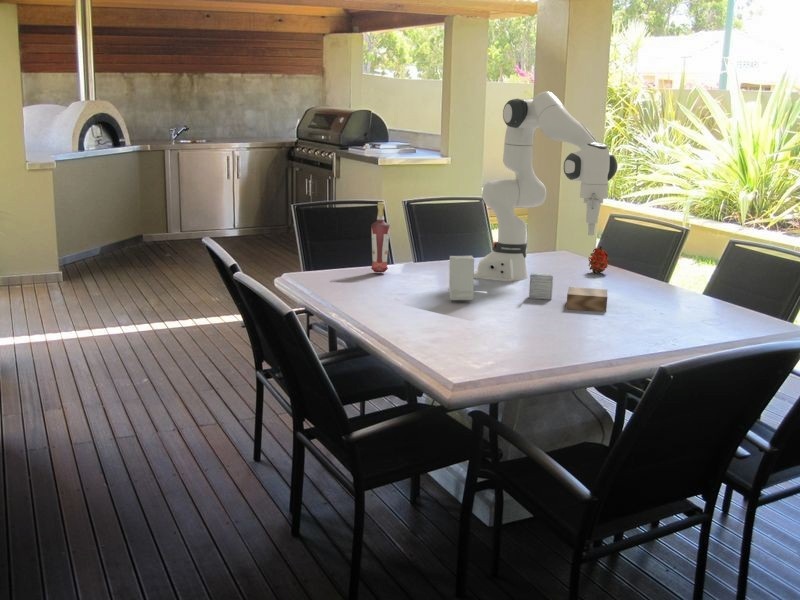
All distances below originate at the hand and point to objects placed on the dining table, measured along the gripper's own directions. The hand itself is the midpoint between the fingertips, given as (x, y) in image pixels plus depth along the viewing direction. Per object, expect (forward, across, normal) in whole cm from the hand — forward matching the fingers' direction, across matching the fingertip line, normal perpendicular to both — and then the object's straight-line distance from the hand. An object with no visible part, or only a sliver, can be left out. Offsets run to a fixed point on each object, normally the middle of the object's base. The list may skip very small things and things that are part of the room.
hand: (591, 234), depth 282 cm
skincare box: (+25, -2, +43) cm, 49 cm away
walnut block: (+25, 0, 0) cm, 25 cm away
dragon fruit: (+24, +65, -3) cm, 70 cm away
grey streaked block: (+25, +8, +16) cm, 31 cm away
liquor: (+24, +39, +83) cm, 95 cm away
